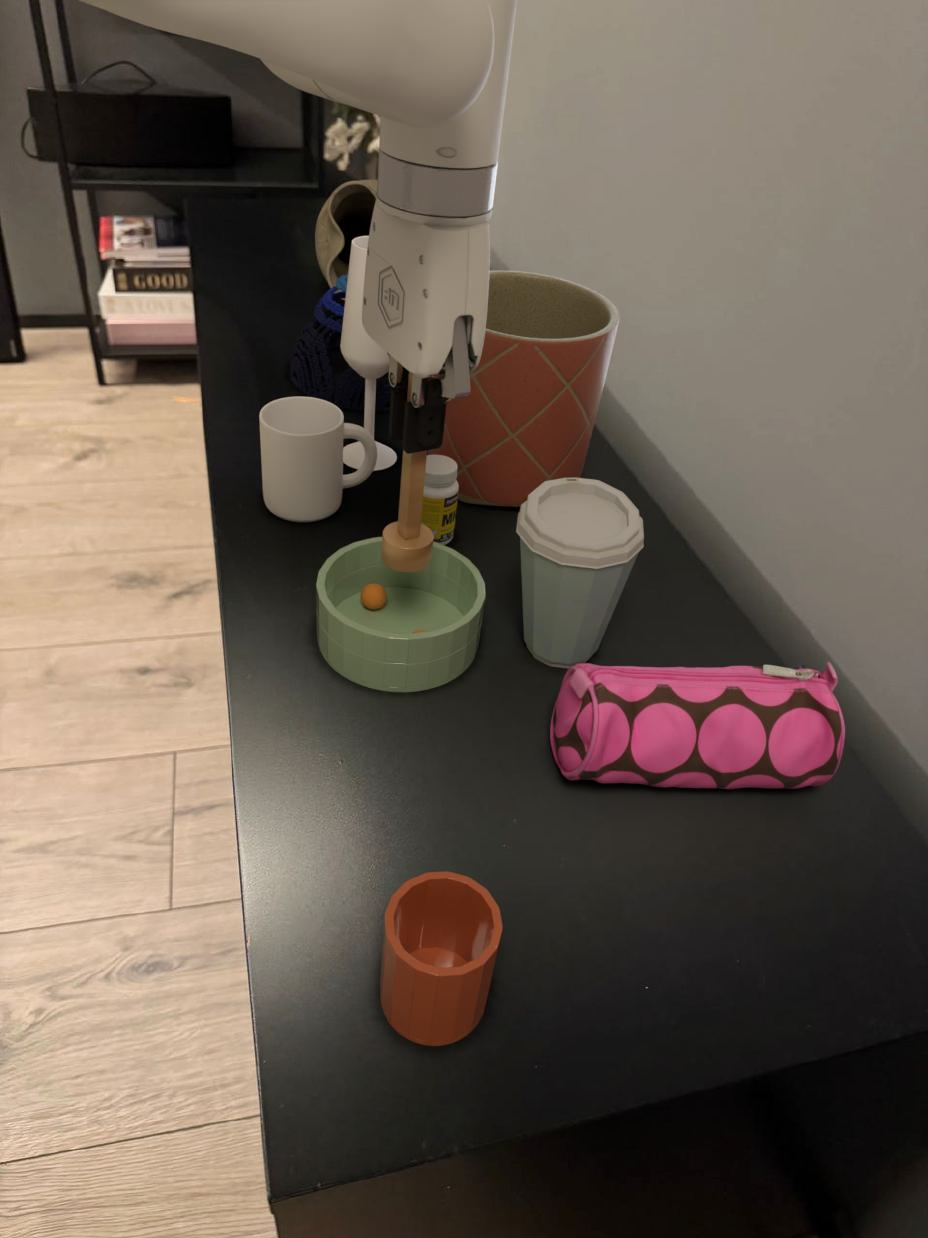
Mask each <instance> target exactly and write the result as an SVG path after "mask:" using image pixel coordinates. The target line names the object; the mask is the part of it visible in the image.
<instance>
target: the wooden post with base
mask: <svg viewBox="0 0 928 1238" xmlns="http://www.w3.org/2000/svg"><path fill="white" fill-rule="evenodd" d="M431 379H434V376H433V375H432V376H429V377H428V379H427V383H428V382H429V381H430V380H431ZM412 380H413V374H412V373H411V372H409V379H408V393H407V402H410V401H411V390H412ZM427 455H428V450H427V451H421V452H416V453H410V454H408V453H406V452H405V451H404V450H403V449H402V461H401V462H402V464H401V474H400V475H401V476H400V487H399V488H400V489H399V501H398V515H397V516H398V518H397V521H394V522H391V523H388V525H386V526H385V527H384V528H383V530H382V536H381V537H382V552H381V558H382V561H383V562H384V564H385V565H387V566H388V567H389V568H391V569H393V570H396V571H400V572H418V571H421V570H423V569H425V568H427V567H428V566H429V564H430V563H431V559H432V549H433V539H434V535H433V532H432V531H431V530H430V529H429V528H428V527H427V526H425V525H423V524H421V514H422V503H423V492H424V481H425V470H426V459H427Z"/></svg>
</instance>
